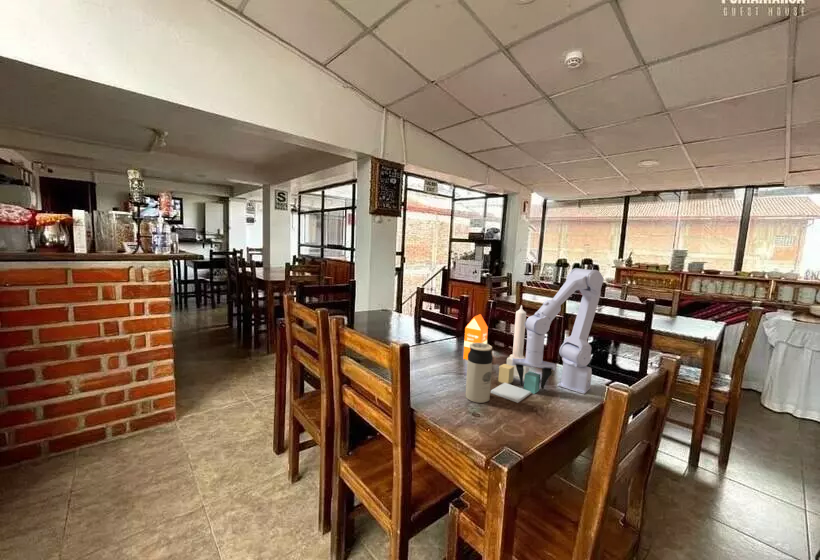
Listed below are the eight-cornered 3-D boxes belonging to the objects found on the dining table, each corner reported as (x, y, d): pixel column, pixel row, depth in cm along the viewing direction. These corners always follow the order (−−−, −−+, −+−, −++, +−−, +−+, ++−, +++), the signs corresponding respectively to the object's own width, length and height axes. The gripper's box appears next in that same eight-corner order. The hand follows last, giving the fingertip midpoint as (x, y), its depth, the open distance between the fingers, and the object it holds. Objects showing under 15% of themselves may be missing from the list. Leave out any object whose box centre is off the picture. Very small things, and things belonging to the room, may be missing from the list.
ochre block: (513, 381, 124) (514, 366, 123) (508, 384, 121) (509, 369, 120) (503, 378, 127) (504, 363, 126) (498, 381, 124) (499, 366, 123)
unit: (532, 378, 127) (534, 361, 127) (527, 382, 124) (528, 364, 123) (508, 371, 134) (510, 354, 134) (502, 374, 131) (504, 357, 130)
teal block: (539, 390, 117) (540, 374, 117) (534, 393, 114) (535, 377, 114) (528, 387, 120) (529, 371, 119) (523, 390, 117) (524, 374, 116)
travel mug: (461, 394, 112) (464, 343, 110) (480, 391, 115) (484, 341, 113) (473, 405, 104) (476, 350, 102) (494, 401, 107) (498, 348, 105)
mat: (530, 393, 114) (530, 391, 114) (517, 402, 107) (517, 400, 107) (504, 384, 121) (504, 382, 121) (490, 392, 114) (490, 390, 114)
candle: (515, 361, 147) (519, 306, 144) (506, 355, 153) (510, 303, 151) (528, 360, 149) (533, 306, 146) (519, 355, 155) (523, 303, 153)
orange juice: (486, 357, 150) (489, 315, 148) (479, 363, 143) (482, 318, 140) (470, 354, 154) (472, 312, 152) (462, 359, 147) (465, 315, 145)
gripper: (554, 348, 118) (551, 384, 119) (512, 344, 121) (510, 379, 123) (558, 354, 111) (554, 393, 112) (513, 349, 114) (511, 386, 116)
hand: (531, 386), depth 117 cm, fingers open, 6 cm apart
